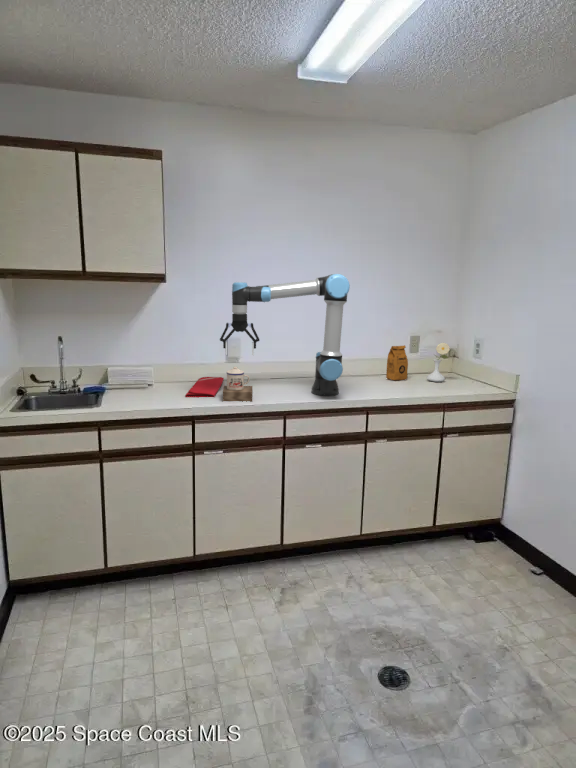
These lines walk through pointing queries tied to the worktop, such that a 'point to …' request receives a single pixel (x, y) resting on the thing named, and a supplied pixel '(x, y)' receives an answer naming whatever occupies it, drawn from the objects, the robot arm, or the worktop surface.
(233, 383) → the teacup with lid
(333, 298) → the robot arm
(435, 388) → the worktop surface
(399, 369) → the coffee package
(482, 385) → the worktop surface
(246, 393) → the walnut riser
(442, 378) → the flower in vase
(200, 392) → the dish drying mat
